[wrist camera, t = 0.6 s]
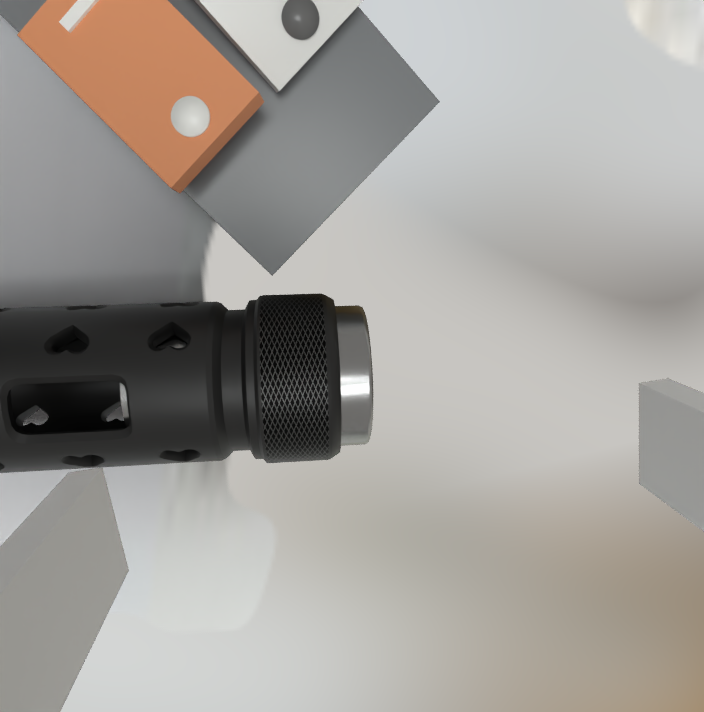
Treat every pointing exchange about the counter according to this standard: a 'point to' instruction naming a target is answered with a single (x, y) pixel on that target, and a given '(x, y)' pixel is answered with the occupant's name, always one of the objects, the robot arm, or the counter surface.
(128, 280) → the counter surface
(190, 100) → the orange slotted plate
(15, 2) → the switch module
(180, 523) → the counter surface
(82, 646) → the robot arm
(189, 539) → the counter surface
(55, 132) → the counter surface
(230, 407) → the muzzle brake
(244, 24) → the light grey flat plate
